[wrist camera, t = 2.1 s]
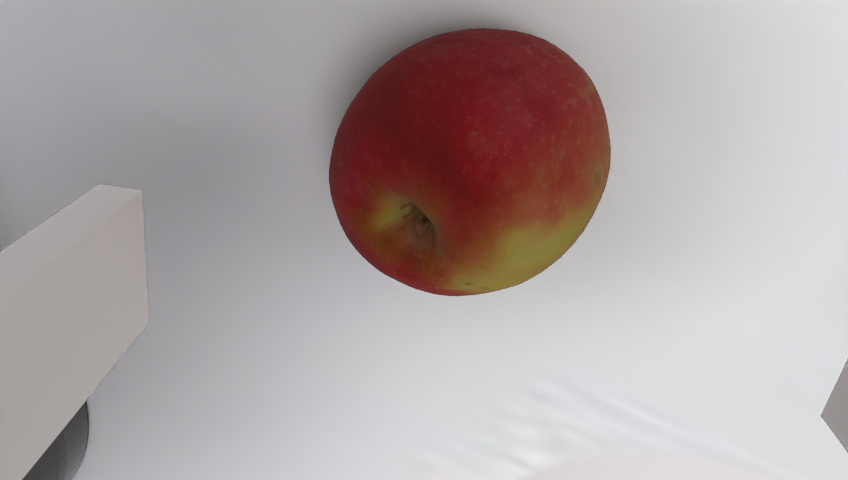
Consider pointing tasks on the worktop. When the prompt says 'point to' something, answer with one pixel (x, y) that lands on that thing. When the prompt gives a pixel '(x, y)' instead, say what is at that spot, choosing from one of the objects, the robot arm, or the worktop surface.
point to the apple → (470, 161)
